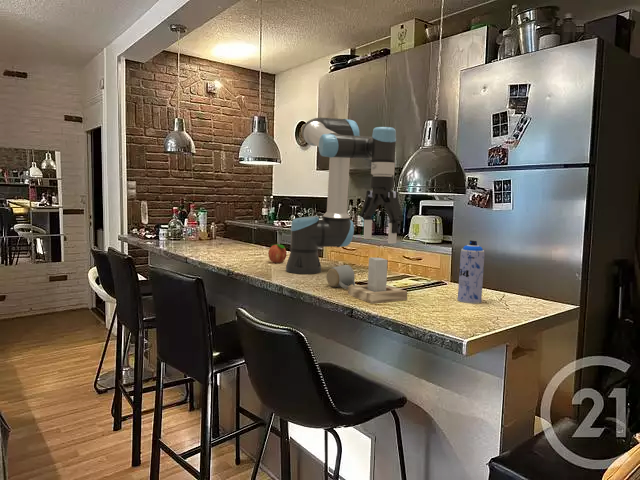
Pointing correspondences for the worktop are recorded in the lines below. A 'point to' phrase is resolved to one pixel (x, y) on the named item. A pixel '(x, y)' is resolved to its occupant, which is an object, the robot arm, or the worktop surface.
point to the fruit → (277, 253)
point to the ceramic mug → (341, 276)
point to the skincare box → (377, 274)
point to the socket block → (377, 294)
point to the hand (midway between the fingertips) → (379, 241)
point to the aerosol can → (471, 273)
